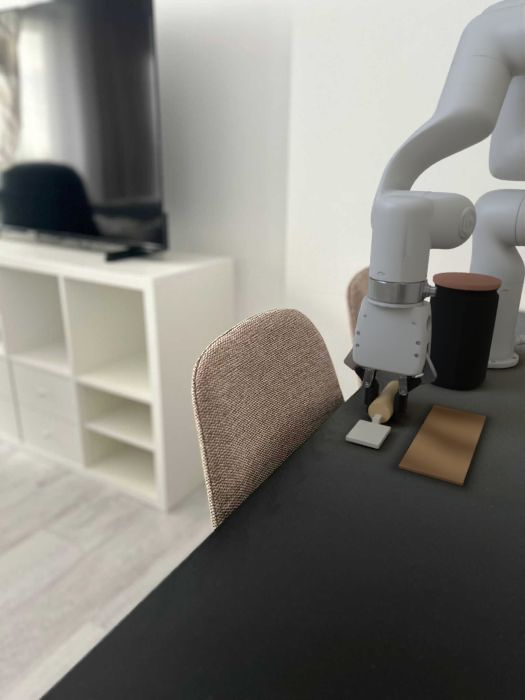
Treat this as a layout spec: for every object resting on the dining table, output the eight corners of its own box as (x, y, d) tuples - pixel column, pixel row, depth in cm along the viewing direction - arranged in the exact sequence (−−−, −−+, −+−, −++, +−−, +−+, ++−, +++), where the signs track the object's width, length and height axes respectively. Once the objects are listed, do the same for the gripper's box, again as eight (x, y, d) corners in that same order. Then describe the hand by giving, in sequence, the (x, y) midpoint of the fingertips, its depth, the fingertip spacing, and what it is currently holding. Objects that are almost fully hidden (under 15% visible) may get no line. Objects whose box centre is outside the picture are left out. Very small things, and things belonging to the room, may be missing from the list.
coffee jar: (482, 372, 93) (499, 274, 87) (486, 395, 84) (505, 287, 78) (421, 365, 96) (433, 270, 90) (418, 386, 87) (431, 281, 81)
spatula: (381, 396, 82) (383, 377, 80) (410, 402, 79) (412, 383, 78) (345, 440, 68) (346, 418, 67) (378, 449, 66) (380, 427, 65)
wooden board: (434, 407, 79) (434, 404, 79) (485, 418, 76) (486, 416, 76) (398, 468, 63) (398, 465, 63) (462, 486, 59) (462, 483, 59)
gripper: (464, 292, 68) (447, 415, 75) (348, 279, 76) (341, 391, 82) (454, 305, 62) (436, 438, 69) (328, 289, 70) (322, 410, 76)
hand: (384, 411), depth 75 cm, fingers closed on spatula, 3 cm apart
